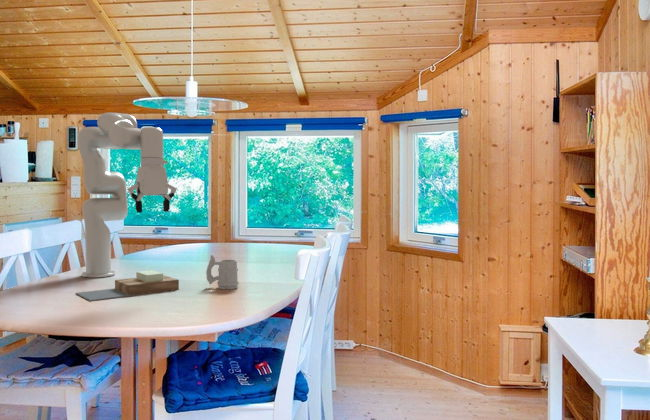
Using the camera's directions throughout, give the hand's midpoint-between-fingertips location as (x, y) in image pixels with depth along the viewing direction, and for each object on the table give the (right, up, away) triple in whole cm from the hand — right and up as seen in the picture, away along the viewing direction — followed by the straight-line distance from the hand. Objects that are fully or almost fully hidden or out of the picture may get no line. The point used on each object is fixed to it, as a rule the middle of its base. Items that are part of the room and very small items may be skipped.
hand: (152, 212), depth 197 cm
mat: (-15, -28, -7) cm, 32 cm away
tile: (-2, -23, +4) cm, 23 cm away
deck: (-3, -28, +3) cm, 28 cm away
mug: (+23, -28, +8) cm, 37 cm away
